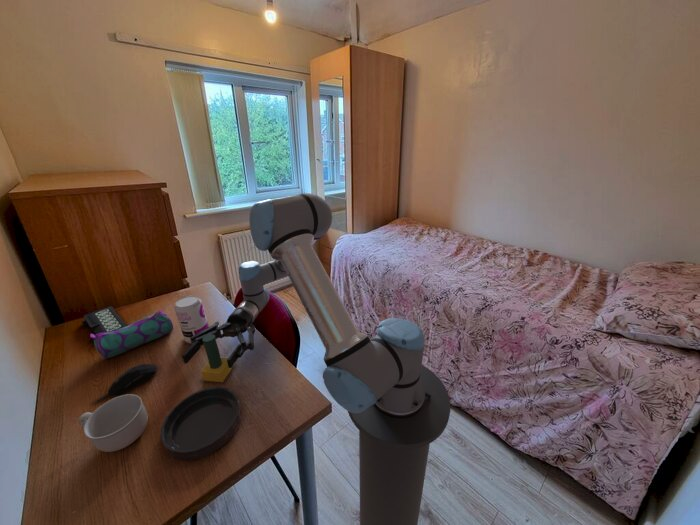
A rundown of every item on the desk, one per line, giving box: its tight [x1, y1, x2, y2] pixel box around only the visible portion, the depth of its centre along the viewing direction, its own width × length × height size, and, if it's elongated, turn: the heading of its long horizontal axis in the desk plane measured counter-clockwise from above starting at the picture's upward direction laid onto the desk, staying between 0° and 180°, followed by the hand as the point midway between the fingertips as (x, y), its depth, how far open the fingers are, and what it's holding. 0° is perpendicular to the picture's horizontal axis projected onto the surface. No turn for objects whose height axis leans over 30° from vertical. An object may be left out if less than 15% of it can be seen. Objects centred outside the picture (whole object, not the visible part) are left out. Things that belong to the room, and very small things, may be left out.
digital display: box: [81, 306, 128, 342], centre depth 107 cm, size 21×3×10 cm
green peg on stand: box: [200, 334, 234, 383], centre depth 83 cm, size 6×6×14 cm
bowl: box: [159, 386, 243, 462], centre depth 70 cm, size 17×17×4 cm
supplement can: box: [174, 295, 210, 344], centre depth 98 cm, size 8×8×15 cm
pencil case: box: [89, 310, 174, 360], centre depth 96 cm, size 21×9×10 cm, turn 138°
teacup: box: [77, 393, 149, 453], centre depth 67 cm, size 14×11×8 cm
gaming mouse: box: [96, 363, 158, 403], centre depth 82 cm, size 6×15×4 cm, turn 142°
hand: (206, 362), depth 79 cm, fingers open, 13 cm apart
